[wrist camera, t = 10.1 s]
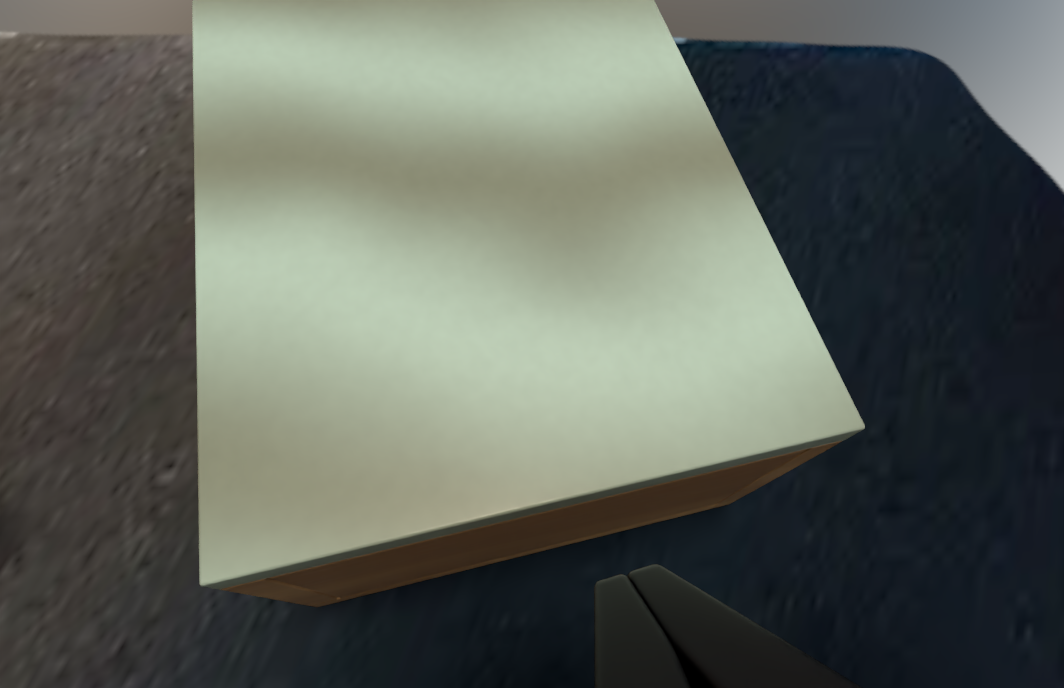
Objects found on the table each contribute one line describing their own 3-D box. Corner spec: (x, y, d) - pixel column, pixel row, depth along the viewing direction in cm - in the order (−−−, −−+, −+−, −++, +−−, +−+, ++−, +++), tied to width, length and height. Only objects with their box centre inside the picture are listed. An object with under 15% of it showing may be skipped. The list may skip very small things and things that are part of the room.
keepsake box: (277, 177, 23) (203, 14, 17) (591, 134, 25) (624, -26, 19) (315, 608, 17) (218, 590, 11) (730, 504, 19) (845, 440, 13)
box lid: (203, -5, 18) (190, -32, 17) (616, -42, 20) (621, -68, 19) (217, 590, 11) (197, 586, 10) (845, 439, 13) (867, 428, 12)
